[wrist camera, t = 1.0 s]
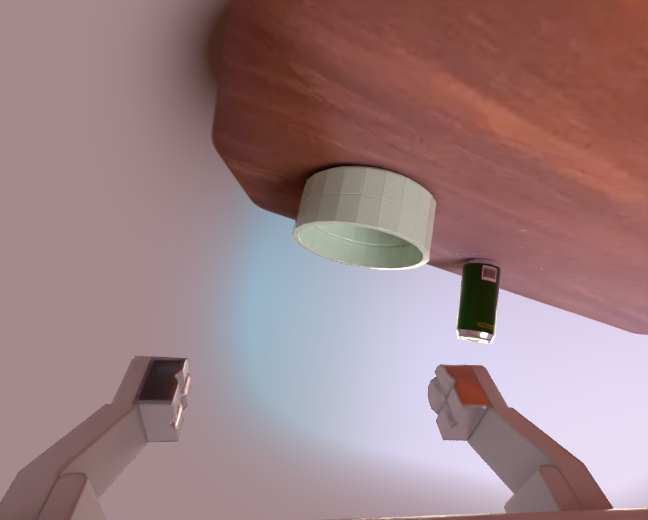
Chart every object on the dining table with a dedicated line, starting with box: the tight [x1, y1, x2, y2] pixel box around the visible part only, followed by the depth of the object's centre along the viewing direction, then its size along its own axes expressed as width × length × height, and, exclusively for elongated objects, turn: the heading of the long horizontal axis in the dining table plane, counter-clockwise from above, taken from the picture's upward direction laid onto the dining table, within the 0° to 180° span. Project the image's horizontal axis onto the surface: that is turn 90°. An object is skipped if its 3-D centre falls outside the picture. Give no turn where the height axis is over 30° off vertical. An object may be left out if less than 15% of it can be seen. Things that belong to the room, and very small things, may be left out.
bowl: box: [293, 166, 436, 270], centre depth 41 cm, size 15×15×6 cm
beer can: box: [456, 259, 500, 343], centre depth 55 cm, size 5×5×12 cm
